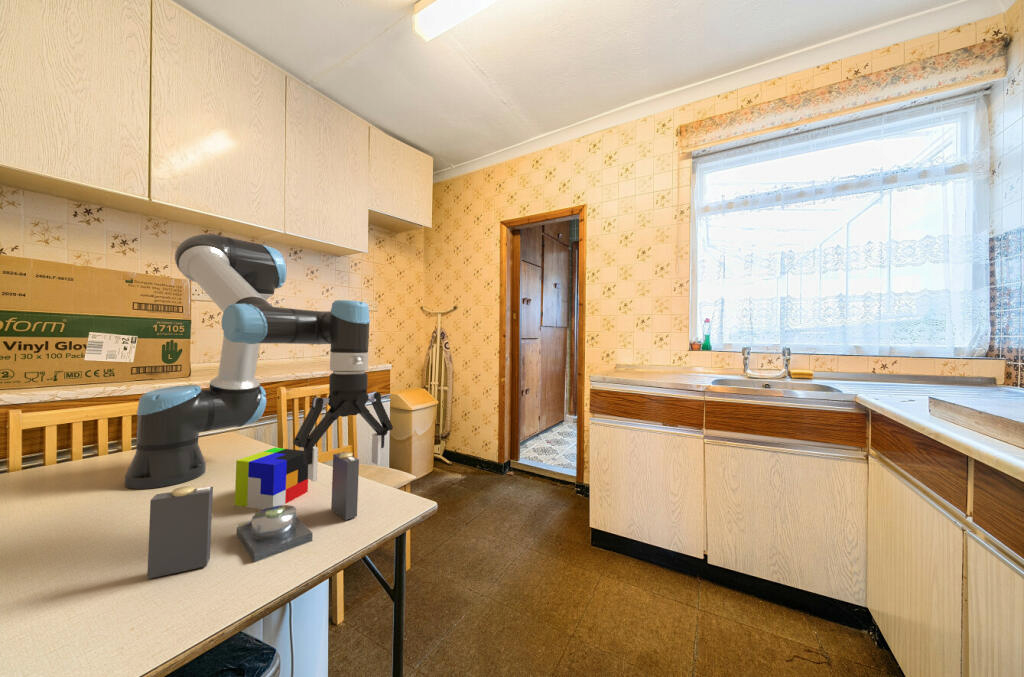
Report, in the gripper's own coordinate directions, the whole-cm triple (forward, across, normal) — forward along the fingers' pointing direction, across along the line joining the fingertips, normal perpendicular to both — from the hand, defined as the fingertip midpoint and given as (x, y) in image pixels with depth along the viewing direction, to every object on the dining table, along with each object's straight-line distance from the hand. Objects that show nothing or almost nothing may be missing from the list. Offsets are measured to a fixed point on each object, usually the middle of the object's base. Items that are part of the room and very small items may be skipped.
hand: (346, 470), depth 77 cm
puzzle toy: (+9, -8, +20) cm, 23 cm away
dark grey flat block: (+9, -26, 0) cm, 28 cm away
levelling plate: (+9, -13, 0) cm, 16 cm away
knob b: (+9, 0, 0) cm, 9 cm away
